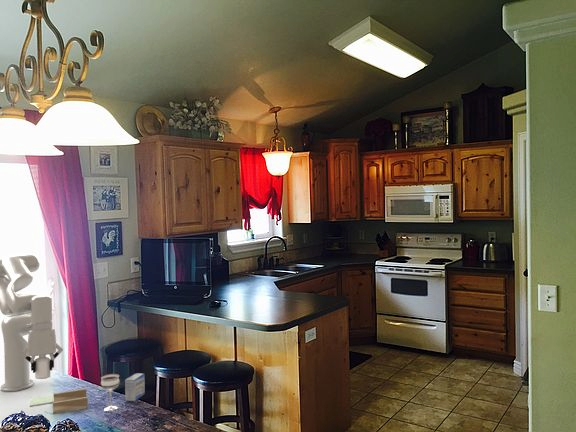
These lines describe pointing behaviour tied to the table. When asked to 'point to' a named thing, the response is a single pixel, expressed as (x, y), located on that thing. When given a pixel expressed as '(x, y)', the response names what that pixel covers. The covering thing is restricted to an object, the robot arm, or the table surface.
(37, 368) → the eye dropper bottle
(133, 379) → the medicine box
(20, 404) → the table surface
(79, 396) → the maple channel
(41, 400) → the sage mat
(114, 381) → the wineglass
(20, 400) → the table surface
